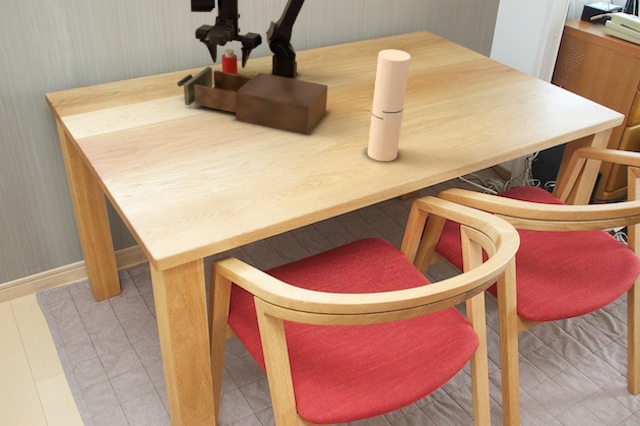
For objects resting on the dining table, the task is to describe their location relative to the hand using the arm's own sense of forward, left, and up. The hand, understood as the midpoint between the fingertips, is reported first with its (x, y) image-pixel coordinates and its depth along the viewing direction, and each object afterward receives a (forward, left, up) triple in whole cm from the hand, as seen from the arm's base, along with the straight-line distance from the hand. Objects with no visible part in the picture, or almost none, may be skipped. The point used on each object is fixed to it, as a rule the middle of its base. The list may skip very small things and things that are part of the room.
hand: (229, 65), depth 192 cm
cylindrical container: (+54, -27, -4) cm, 61 cm away
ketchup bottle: (0, 0, -4) cm, 4 cm away
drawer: (+6, -18, -3) cm, 19 cm away
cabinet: (+24, -18, -4) cm, 30 cm away
